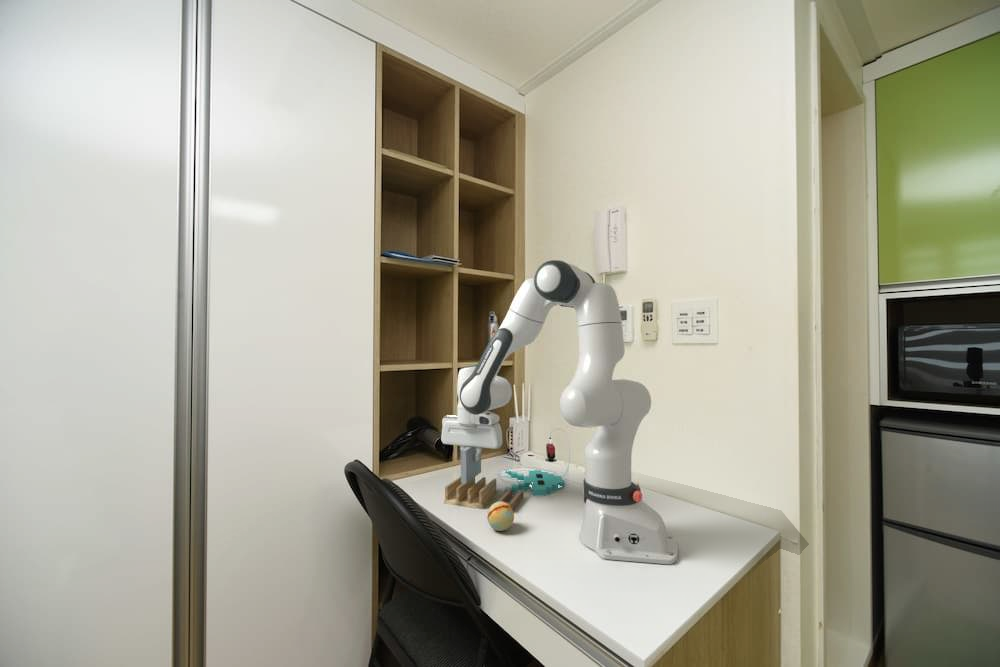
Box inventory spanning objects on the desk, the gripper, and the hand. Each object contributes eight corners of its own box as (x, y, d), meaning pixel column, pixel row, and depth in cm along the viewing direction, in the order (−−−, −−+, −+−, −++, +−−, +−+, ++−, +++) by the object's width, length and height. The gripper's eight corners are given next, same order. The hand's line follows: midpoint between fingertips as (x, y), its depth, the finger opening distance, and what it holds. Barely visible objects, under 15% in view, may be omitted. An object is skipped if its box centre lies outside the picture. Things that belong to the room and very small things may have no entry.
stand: (523, 498, 121) (523, 490, 121) (511, 513, 109) (510, 504, 109) (509, 496, 122) (509, 488, 122) (496, 511, 111) (496, 502, 111)
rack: (497, 494, 124) (497, 478, 124) (482, 509, 112) (482, 491, 113) (461, 489, 128) (461, 474, 129) (444, 503, 117) (444, 486, 117)
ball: (486, 524, 103) (486, 497, 103) (512, 522, 104) (511, 496, 104) (488, 537, 96) (488, 508, 96) (516, 535, 97) (515, 507, 97)
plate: (481, 472, 126) (480, 441, 126) (466, 483, 116) (466, 450, 116) (476, 471, 126) (475, 441, 127) (461, 483, 116) (460, 450, 116)
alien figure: (504, 496, 123) (567, 496, 123) (504, 489, 123) (567, 489, 123) (505, 476, 143) (558, 476, 143) (505, 470, 143) (558, 470, 143)
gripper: (437, 415, 122) (437, 459, 122) (496, 420, 115) (497, 466, 114) (447, 412, 128) (447, 454, 128) (504, 416, 121) (504, 460, 120)
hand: (471, 460), depth 121 cm, fingers closed on plate, 2 cm apart
